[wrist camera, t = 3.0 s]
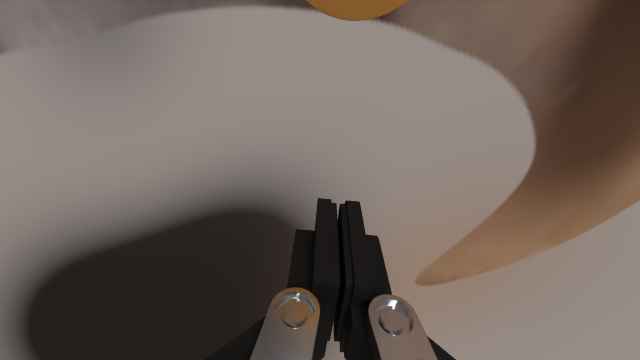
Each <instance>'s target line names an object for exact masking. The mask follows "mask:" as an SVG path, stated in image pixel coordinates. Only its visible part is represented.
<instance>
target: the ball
mask: <svg viewBox="0 0 640 360" xmlns="http://www.w3.org/2000/svg"><path fill="white" fill-rule="evenodd" d="M306 1H307V2H308V3H309V4H311V5H312V6H313V7H315V8H316V9H318V10H319V11H321V12H323V13H325V14H327V15H329V16H332V17H335V18H338V19H343V20H349V21H361V20H368V19H372V18H376V17H379V16H382V15H384V14H387V13H389V12H391V11H393V10H395V9H396V8H398V7H400V6H401V5H403V4H404V3H405V2H407V1H408V0H306Z"/></svg>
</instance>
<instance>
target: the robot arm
mask: <svg viewBox="0 0 640 360" xmlns="http://www.w3.org/2000/svg"><path fill="white" fill-rule="evenodd" d="M333 320H334V341H338V342H340V352H344V357H345V359H346V360H456V359H454V358H453V357H452V356H451V355H449V354H448V353H447V352H446V351H445V350H443V349H442V348H441V347H440V346H439V345H437V344H436V343H435V342H434V341H433V340H431V339H430V338H429V337H428V336H427V335H426V333H425V331H424V329H423V327H422V325H421V322H420V320H419V318H418V316H417V314H416V312H415V311H414V309H413V308H412V307H411V306H410V305H409V304H408V303H407V302H406V301H405V300H403V299H402V298H400V297H397V296H394V295H392V293H391V288H390V284H389V280H388V276H387V272H386V268H385V263H384V259H383V255H382V250H381V246H380V242H379V239H378V237H377V236H373V235H366V234H365V229H364V223H363V217H362V211H361V206H360V202H357V201H346V202H345V204H340V207H339V214H338V221H337V205H336V203H331V199H321V198H318V203H317V213H316V223H315V231H311V230H297V229H296V233H295V240H294V246H293V253H292V260H291V266H290V273H289V279H288V286H287V289H285V290H283V291H281V292H279V293H278V294H277V295H276V296H275V297H274V299H273V301H272V302H271V304H270V307H269V310H268V312H267V315H266V316H265V317H263V318H262V319H261V320H259V321H258V322H257V323H255V324H254V325H253V326H251V327H250V328H248V329H247V330H246V331H244V332H243V333H242V334H240V335H239V336H237V337H236V338H235V339H233V340H232V341H231V342H229V343H228V344H226V345H225V346H224V347H222V348H221V349H220V350H218V351H217V352H215V353H214V354H213V355H211V356H210V357H209V358H207V359H206V360H321V359H322V358H323V357H324V355H325V350H326V344H327V341H330V336H331V331H332V326H333Z"/></svg>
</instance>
